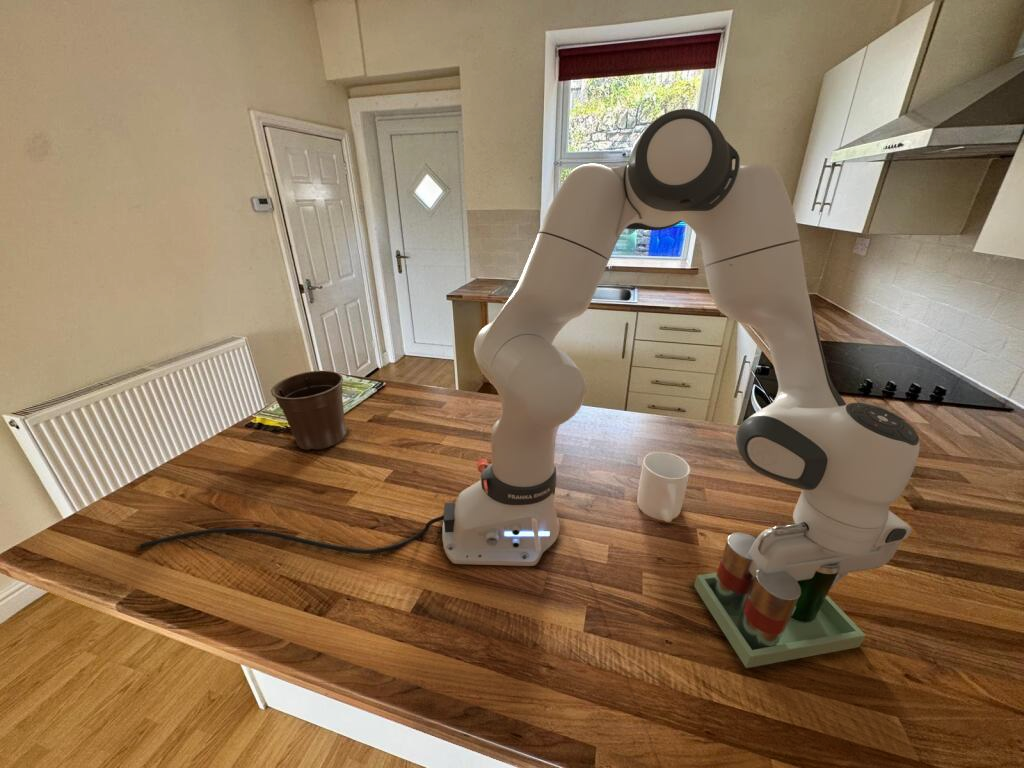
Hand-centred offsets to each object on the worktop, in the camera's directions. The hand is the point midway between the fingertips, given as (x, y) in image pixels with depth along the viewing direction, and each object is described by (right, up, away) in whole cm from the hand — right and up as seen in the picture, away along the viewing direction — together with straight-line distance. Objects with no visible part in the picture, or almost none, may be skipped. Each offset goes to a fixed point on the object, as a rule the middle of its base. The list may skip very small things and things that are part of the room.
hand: (802, 589), depth 60 cm
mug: (-14, +4, +21) cm, 25 cm away
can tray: (-4, -5, +1) cm, 6 cm away
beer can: (0, -4, +2) cm, 5 cm away
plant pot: (-94, +16, +47) cm, 106 cm away
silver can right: (-9, -6, -2) cm, 11 cm away
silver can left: (-9, -3, +3) cm, 10 cm away
